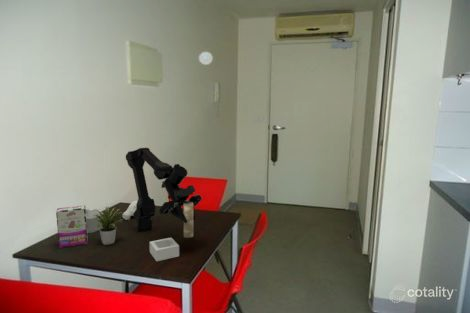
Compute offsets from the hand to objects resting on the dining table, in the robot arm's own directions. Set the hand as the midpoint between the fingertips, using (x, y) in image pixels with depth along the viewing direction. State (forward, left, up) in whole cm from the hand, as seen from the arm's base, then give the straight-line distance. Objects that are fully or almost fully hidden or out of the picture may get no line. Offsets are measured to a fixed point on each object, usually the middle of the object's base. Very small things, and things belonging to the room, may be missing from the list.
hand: (190, 221), depth 131 cm
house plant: (-34, +18, -14) cm, 41 cm away
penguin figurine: (-24, +50, -14) cm, 57 cm away
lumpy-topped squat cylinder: (-44, +40, -14) cm, 61 cm away
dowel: (-1, +1, -7) cm, 7 cm away
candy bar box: (-48, +21, -14) cm, 54 cm away
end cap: (-11, +1, -13) cm, 17 cm away
